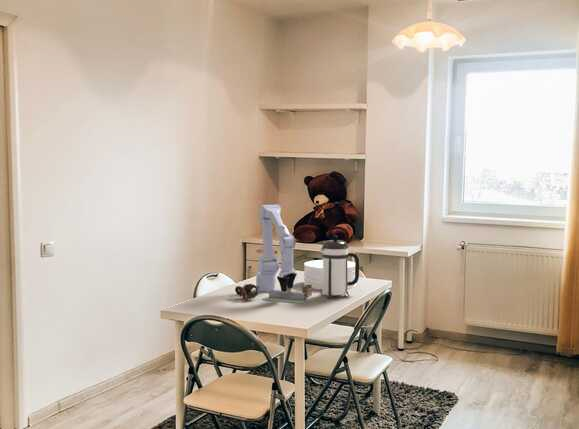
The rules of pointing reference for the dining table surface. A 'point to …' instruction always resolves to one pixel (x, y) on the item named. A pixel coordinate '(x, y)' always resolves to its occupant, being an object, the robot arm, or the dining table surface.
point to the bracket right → (307, 290)
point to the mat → (283, 300)
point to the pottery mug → (247, 291)
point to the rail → (287, 295)
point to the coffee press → (337, 267)
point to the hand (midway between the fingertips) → (286, 289)
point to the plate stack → (316, 274)
